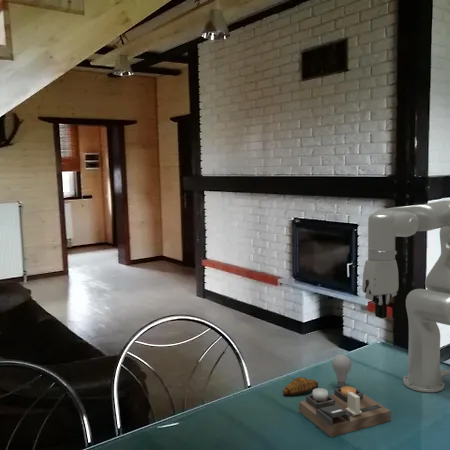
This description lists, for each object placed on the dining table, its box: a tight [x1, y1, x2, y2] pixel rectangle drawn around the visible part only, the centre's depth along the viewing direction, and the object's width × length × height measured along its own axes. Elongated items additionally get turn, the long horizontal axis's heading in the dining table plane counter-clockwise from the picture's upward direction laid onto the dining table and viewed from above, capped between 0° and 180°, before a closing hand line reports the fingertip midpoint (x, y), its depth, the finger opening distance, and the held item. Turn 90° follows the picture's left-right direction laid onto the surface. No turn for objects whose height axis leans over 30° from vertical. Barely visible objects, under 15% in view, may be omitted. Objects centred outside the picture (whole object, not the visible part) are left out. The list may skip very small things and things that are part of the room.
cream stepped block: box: [345, 392, 362, 416], centre depth 140 cm, size 3×4×5 cm
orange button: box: [341, 385, 357, 396], centre depth 150 cm, size 4×4×2 cm
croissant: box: [282, 376, 319, 397], centre depth 161 cm, size 14×7×5 cm, turn 119°
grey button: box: [312, 387, 329, 401], centre depth 146 cm, size 4×4×2 cm
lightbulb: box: [331, 354, 352, 388], centre depth 163 cm, size 6×6×11 cm
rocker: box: [320, 405, 346, 418], centre depth 138 cm, size 4×6×1 cm
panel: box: [298, 385, 392, 438], centre depth 145 cm, size 20×16×5 cm
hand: (380, 316), depth 148 cm, fingers closed
